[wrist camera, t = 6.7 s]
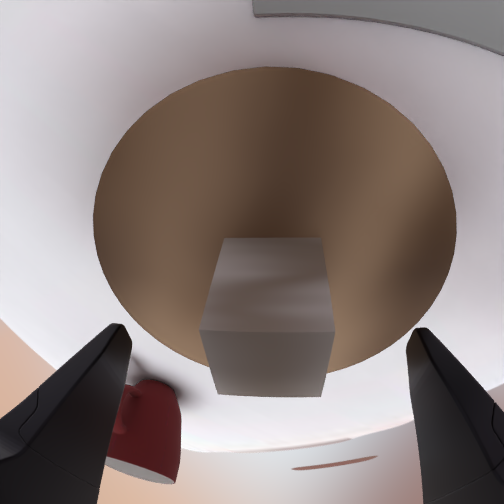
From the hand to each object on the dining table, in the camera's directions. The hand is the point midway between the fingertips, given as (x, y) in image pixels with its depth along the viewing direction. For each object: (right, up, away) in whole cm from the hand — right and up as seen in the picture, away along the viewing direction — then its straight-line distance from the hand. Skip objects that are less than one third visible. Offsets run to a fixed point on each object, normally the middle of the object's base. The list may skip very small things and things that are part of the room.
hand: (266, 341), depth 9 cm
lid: (0, +2, +3) cm, 4 cm away
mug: (-11, -11, +21) cm, 26 cm away
